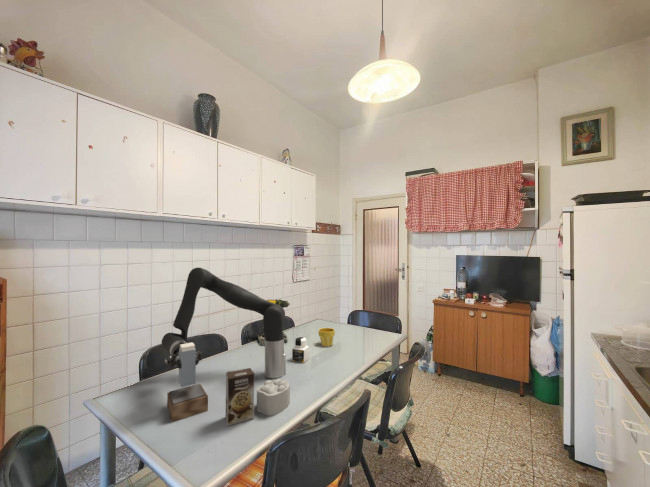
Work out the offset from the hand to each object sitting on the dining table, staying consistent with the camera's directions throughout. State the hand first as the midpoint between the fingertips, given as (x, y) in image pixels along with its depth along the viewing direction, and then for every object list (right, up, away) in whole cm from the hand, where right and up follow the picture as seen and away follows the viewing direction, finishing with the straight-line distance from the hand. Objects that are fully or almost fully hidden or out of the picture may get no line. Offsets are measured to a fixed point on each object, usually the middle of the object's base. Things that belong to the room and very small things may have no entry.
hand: (188, 364), depth 105 cm
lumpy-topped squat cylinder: (+32, -18, +4) cm, 37 cm away
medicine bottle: (+38, -19, +49) cm, 65 cm away
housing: (-2, -8, +2) cm, 8 cm away
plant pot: (+52, -20, +73) cm, 92 cm away
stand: (-1, -18, +2) cm, 18 cm away
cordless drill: (+17, -20, +83) cm, 87 cm away
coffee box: (+21, -18, -5) cm, 28 cm away
